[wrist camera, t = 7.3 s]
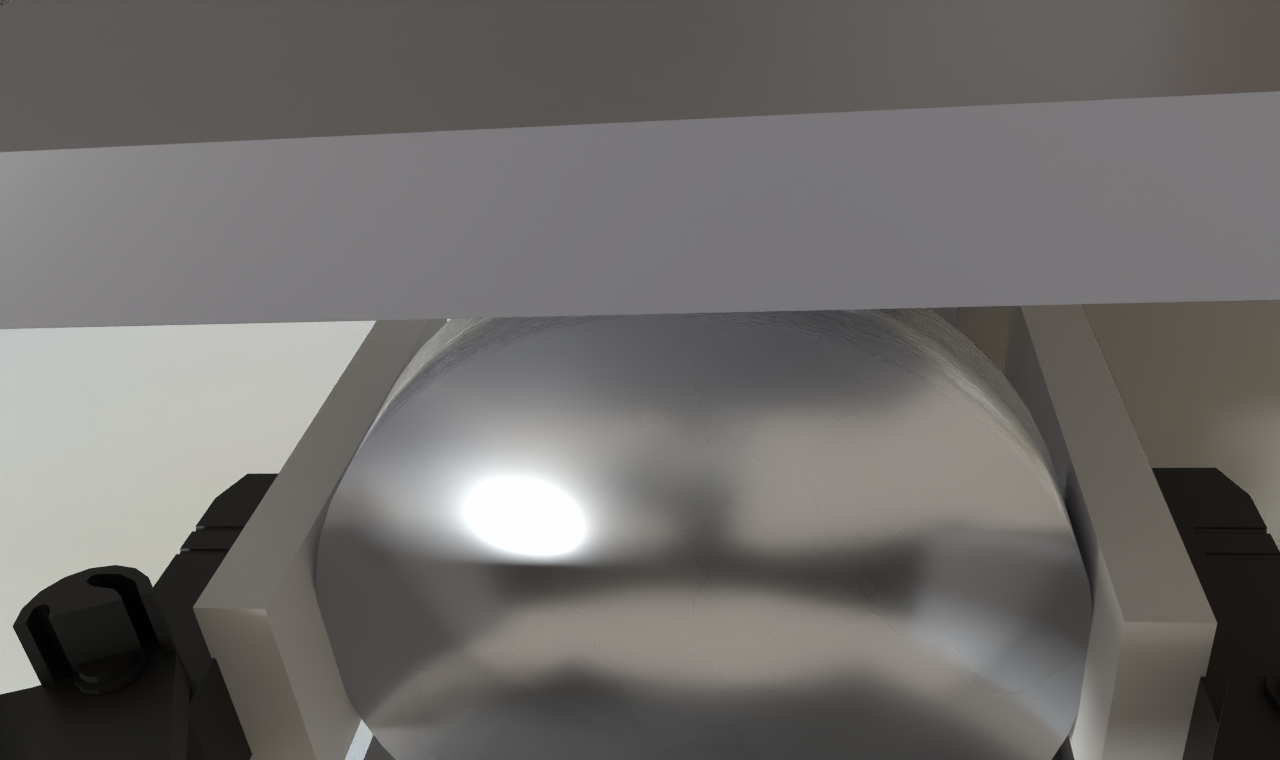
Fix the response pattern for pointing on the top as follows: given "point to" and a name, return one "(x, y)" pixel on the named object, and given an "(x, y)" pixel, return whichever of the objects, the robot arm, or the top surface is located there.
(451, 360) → the disc
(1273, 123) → the tray
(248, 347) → the top surface
